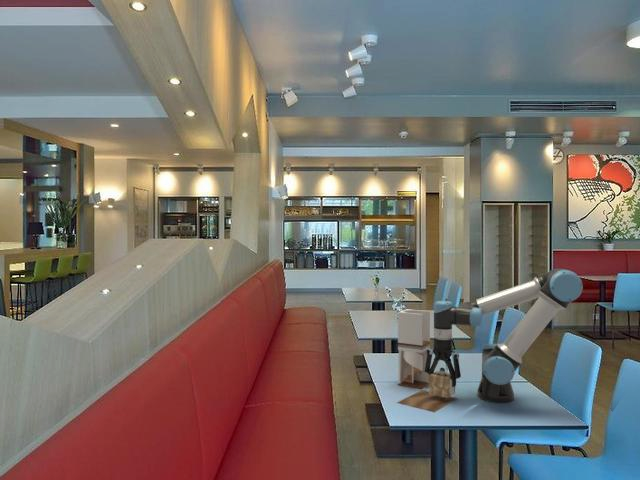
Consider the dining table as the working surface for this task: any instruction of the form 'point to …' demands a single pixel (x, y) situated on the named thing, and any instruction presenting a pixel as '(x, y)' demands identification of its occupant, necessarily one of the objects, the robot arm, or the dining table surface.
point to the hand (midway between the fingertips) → (442, 391)
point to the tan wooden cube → (440, 384)
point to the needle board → (427, 399)
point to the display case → (413, 347)
